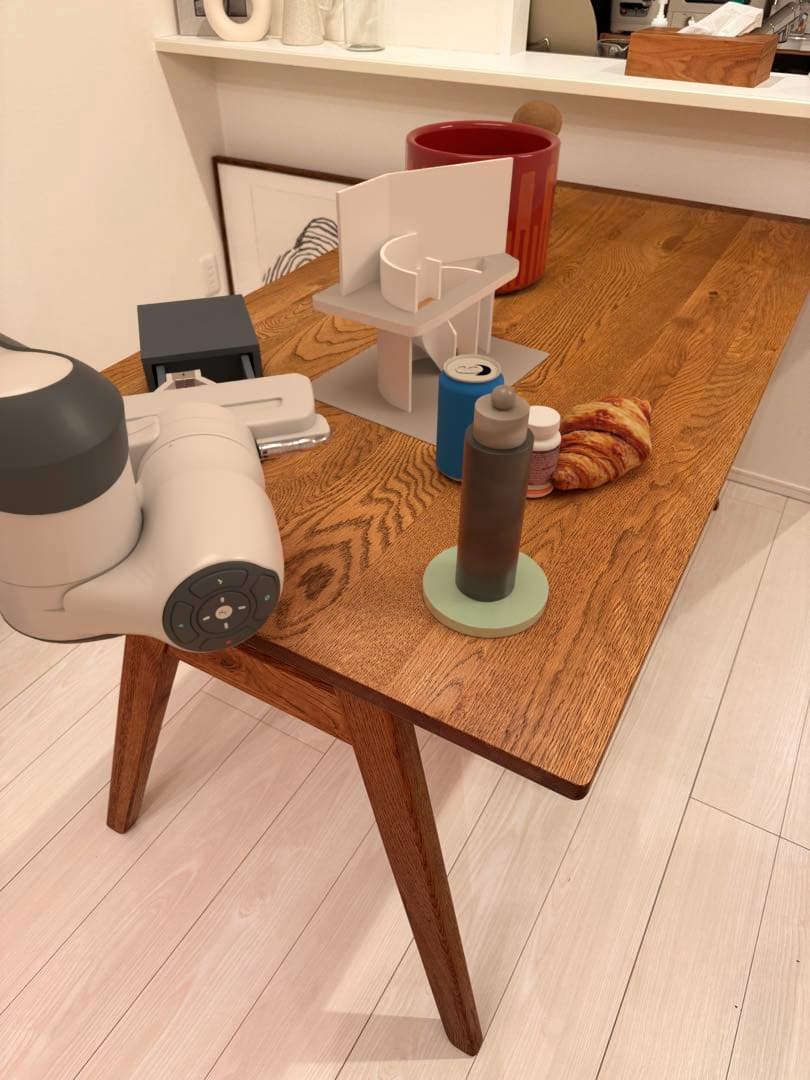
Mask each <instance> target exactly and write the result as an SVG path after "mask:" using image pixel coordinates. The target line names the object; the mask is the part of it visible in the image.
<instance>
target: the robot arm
mask: <svg viewBox="0 0 810 1080" xmlns="http://www.w3.org/2000/svg"><path fill="white" fill-rule="evenodd" d="M166 380H167V382H165V383H163V384H162V385H161V386H160V387H159V388H157V389H156V390H155V391H154V392H151V393H149V392H145V393H138V394H131V395H124V396H122V393H121V392H120V390H119V389H118V387H117V386H116V385H115V384H114V383H113V382H112V381H111V380H110V379H109V378H107V377H106V376H104V374H102V373H101V372H99V371H98V370H97V369H95V368H94V367H92V366H91V365H89V364H88V363H86V362H84V361H82V360H80V359H78V358H75V357H73V356H70V355H68V354H65V353H62V352H58V351H54V350H47V349H41V348H34V347H33V348H32V347H29V346H27V345H25V344H24V343H21V342H19V341H17V340H16V339H14V338H12V337H9V336H7V335H5V334H4V333H1V332H0V616H1V617H2V619H3V620H4V622H5V623H6V624H7V625H8V626H9V627H10V628H11V629H13V630H14V631H16V632H17V633H19V634H21V635H23V636H25V637H27V638H31V639H34V640H37V641H41V642H44V643H49V644H59V645H60V644H61V645H75V644H77V645H78V644H84V643H85V644H86V643H92V642H93V643H94V642H100V641H105V640H112V639H116V638H119V637H123V636H126V635H135V636H143V637H144V636H145V637H150V638H153V639H156V640H159V641H161V642H164V643H165V644H167V645H169V646H171V647H174V648H176V649H178V650H180V651H185V652H189V653H214V652H219V651H223V650H227V649H230V648H233V647H236V646H238V645H239V644H241V643H243V642H245V641H246V640H249V639H250V638H251V637H253V636H254V635H255V634H257V633H258V632H259V631H260V630H261V629H262V628H263V627H264V626H265V625H266V624H267V622H268V621H269V619H270V618H271V616H272V615H273V614H274V613H275V611H276V609H277V606H278V605H279V602H280V599H281V596H282V592H283V587H284V581H285V558H284V550H283V545H282V538H281V532H280V528H279V524H278V520H277V517H276V513H275V510H274V507H273V506H274V505H273V503H272V502H271V499H270V497H269V496H268V494H267V492H266V489H267V488H266V487H267V486H266V478H265V473H264V469H263V466H262V462H261V461H263V460H270V459H276V458H281V457H288V456H294V455H299V454H302V453H307V452H308V453H309V452H312V451H314V450H316V449H317V448H318V447H317V446H318V445H321V444H323V443H325V442H328V441H329V440H330V439H331V436H332V429H331V428H330V427H331V426H330V425H329V422H328V421H327V419H326V417H325V416H323V415H322V414H320V413H317V412H316V404H315V399H314V394H313V388H312V385H311V382H312V381H311V379H310V378H309V377H308V376H306V375H304V374H301V373H298V372H292V373H291V372H290V373H284V374H277V375H270V376H263V377H261V378H254V379H247V380H239V381H232V382H225V383H217V384H216V383H215V382H213V381H211V380H209V379H206V378H204V377H201V372H200V369H199V370H192V371H185V372H178V373H169V374H166Z"/></svg>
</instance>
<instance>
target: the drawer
mask: <svg viewBox="0 0 810 1080" xmlns="http://www.w3.org/2000/svg"><path fill="white" fill-rule="evenodd" d="M156 367H157V377H158V386H159V387H160V386H161V385H162V384H163V383H165V382H167V380H166V374H169V373H178V372H185V371H192V370H199V369H200V372H201V377H204V378H206V379H209V380H211V381H213V382H215V383H216V384H217V383H225V382H232V381H239V380H247V379H254V378H255V376H254V373H253V370H252V367H251V364H250V360H249V357H248V354H247V353H241V354H233V355H225V356H217V357H209V358H201V359H193V360H185V361H177V362H169V363H161V364H156Z"/></svg>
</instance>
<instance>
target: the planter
mask: <svg viewBox="0 0 810 1080" xmlns="http://www.w3.org/2000/svg"><path fill="white" fill-rule="evenodd" d="M561 145H562V140H561V139H560V137H559V136H558V135H555V134H554V133H552V132H550V131H548V130H545V129H542V128H539V127H535V126H531V125H526V124H520V123H513V122H512V121H504V120H503V121H501V120H488V119H487V120H483V119H481V120H478V119H470V120H466V119H465V120H450V121H442V122H441V121H440V122H435V123H430V124H426V125H422V126H420V127H416V128H413V129H412V130H410V131H409V132H408V133H407V134H406V136H405V146H404V147H405V151H404V153H405V155H404V171H410V170H418V169H425V168H433V167H440V166H448V165H455V164H463V163H471V162H478V161H486V160H494V159H501V158H509V157H511V158H513V168H512V179H511V191H510V202H509V213H508V225H507V236H506V247H505V253H507V254H509V255H510V256H512V257H514V258H515V259H517V260H518V261H519V270H518V274H517V276H516V277H515V278H513V279H512V280H510V281H509V282H507V283H506V284H504V285H502V286H501V287H499V288H498V289H496V290H495V294H494V296H497V295H504V294H509V293H514V292H517V291H520V290H523V289H525V288H528V287H530V286H531V285H533V284H535V283H537V282H538V281H539V280H540V279H541V278H542V277H543V276H544V274H545V272H546V268H547V262H548V253H549V245H550V239H551V238H550V236H551V230H552V229H551V228H552V221H553V212H554V207H555V206H554V205H555V197H556V188H557V179H558V170H559V163H560V154H561Z"/></svg>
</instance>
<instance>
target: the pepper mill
mask: <svg viewBox="0 0 810 1080" xmlns="http://www.w3.org/2000/svg"><path fill="white" fill-rule="evenodd" d="M529 413H530V404H529V402H528V401H527V400H526V399H525V398H523V397H521V396H519V395H517V394H516V392H515V390H514V388H513V387H512V386H511V387H510V386H508V385H499V386H497V387H496V388H495V389H494V390H493V391H492V393H490V394H486V395H484V396H482V397H480V398H479V399H478V400H477V401H476V403H475V411H474V423H472V424H471V425H470V426H468V428H467V429H466V431H465V439H464V454H463V469H462V482H461V483H460V484H461V485H460V489H461V490H460V501H459V517H458V531H457V544H456V546H457V560H456V575H455V582H456V585H457V587H458V589H459V590H460V592H461V593H463V594H464V595H465V596H467V597H468V598H471V599H473V600H476V601H481V602H494V601H498V600H501V599H504V598H505V597H507V596H508V595H509V594H510V593H511V592H512V591H513V589H514V586H515V579H516V571H517V564H518V557H519V551H520V549H521V542H522V541H521V540H522V534H523V527H524V526H523V525H524V519H525V511H526V505H527V498H528V497H527V490H528V483H529V475H530V468H531V461H532V453H533V446H534V435H533V432H532V431H531V430H530V429H529V428H528V421H529Z"/></svg>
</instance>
